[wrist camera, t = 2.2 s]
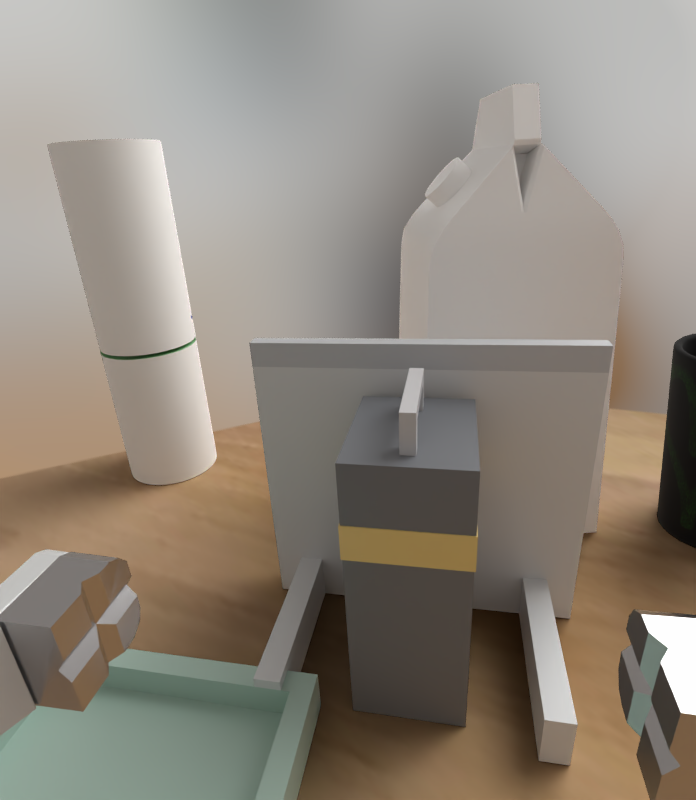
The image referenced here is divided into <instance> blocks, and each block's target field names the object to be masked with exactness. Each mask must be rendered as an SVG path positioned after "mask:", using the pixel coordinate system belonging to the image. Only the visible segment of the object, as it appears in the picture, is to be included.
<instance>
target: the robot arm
mask: <svg viewBox="0 0 696 800" xmlns="http://www.w3.org/2000/svg"><path fill="white" fill-rule="evenodd" d="M131 576H132V575H131V573H130V570H129V567H128V564H127V561H125V560H122V559H120V558H114V557H107V556H99V555H91V554H83V553H76V552H63V551H55V550H48V549H46V550H43V551H40V552H37V553H35V554H34V555H33V556H32V557H31V558H29V559H28V560H27V561H26V562H25V563H24V564H23V565H22V566H21V567H19V568H18V569H17V570H16V571H15V572H14V573H13V574H12V575H11V576H9V577H8V578H7V579H6V580H5V581H4V582H3V583H2V584H1V585H0V736H1V735H2V734H3V733H5V732H6V731H7V730H9V729H10V728H11V727H13V726H14V725H15V724H17V723H18V722H19V721H21V720H22V719H23V718H25V717H26V716H27V715H29V714H30V713H31V712H33V711H34V710H35V709H36V706H44V707H51V708H59V709H66V710H74V711H81V712H83V711H84V710H85V709H86V707H87V706H88V704H89V703H90V701H91V700H92V698H93V697H94V696H95V694H96V693H97V691H98V690H99V688H100V687H101V686H102V684H103V683H104V681H105V680H106V678H107V677H108V675H109V662H110V661H111V660H113V659H115V658H116V657H118V656H119V655H121V654H122V653H124V652H125V651H126V649H127V648H128V646H129V645H130V643H131V642H132V640H133V639H134V637H135V634H136V631H137V628H138V625H139V622H140V604H139V600H138V596H137V595H136V594H135V593H134V592H133V591H132V590H131V589H130V588H129V587H128V586H127V583H128V582H129V580H130V578H131ZM626 630H627V633H628V636H629V638H630V641H631V644H632V645H630V646H629V647H627V648H626V649H625V650H623V651H622V652H621V657H620V663H619V692H620V697H621V703H622V707H623V711H624V714H625V718H626V721H627V723H628V724H629V725H630V726H631V727H632V729H633V730H634V731H635V732H636V733H637V734H638V735H639V736H640V737H641V738H640V743H639V747H638V751H637V759H638V762H639V765H640V769H641V772H642V775H643V778H644V782H645V785H646V788H647V792H648V795H649V798H650V800H696V615H690V614H679V613H668V612H657V611H646V610H635V609H634V610H633V611H632V613H631V614H630V616H629V620H628V624H627V628H626Z"/></svg>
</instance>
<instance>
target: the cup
mask: <svg viewBox="0 0 696 800" xmlns="http://www.w3.org/2000/svg"><path fill="white" fill-rule="evenodd" d="M657 517H658V521H659V523H660V524H661V525H662V527H663V528H664V529H665V530H666V531H667V532H668V533H669V534H671V535H672V536H674V537H675V538H677V539H678V540H680V541H682V542H684V543H686V544H688V545H690V546H693V547H696V334H692V335H688V336H684V337H682V338H681V339H679V340H677V341H676V342H675V344H674V349H673V359H672V370H671V380H670V389H669V400H668V410H667V420H666V430H665V441H664V451H663V461H662V471H661V482H660V492H659V502H658V512H657Z"/></svg>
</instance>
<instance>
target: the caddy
mask: <svg viewBox="0 0 696 800" xmlns="http://www.w3.org/2000/svg"><path fill="white" fill-rule="evenodd" d="M335 469H336V482H337V496H338V510H339V525H338V532H339V546H340V559H341V560H342V565H343V579H344V593H345V606H346V620H347V634H348V648H349V661H350V675H351V689H352V703H353V710H355V711H362V712H369V713H375V714H382V715H389V716H396V717H402V718H409V719H416V720H423V721H429V722H436V723H443V724H449V725H456V726H463V727H466V710H467V693H468V675H469V658H470V641H471V623H472V606H473V589H474V572H476V563H477V546H478V527H477V519H478V502H479V485H480V460H479V446H478V431H477V417H476V402H475V399H454V398H424V368H409V372H408V376H407V381H406V385H405V389H404V393H403V397H384V396H363V397H362V399H361V402H360V404H359V407H358V409H357V412H356V414H355V416H354V419H353V421H352V424H351V426H350V429H349V431H348V433H347V436H346V438H345V441H344V443H343V445H342V448H341V450H340V453H339V455H338V458H337V460H336V462H335Z"/></svg>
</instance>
